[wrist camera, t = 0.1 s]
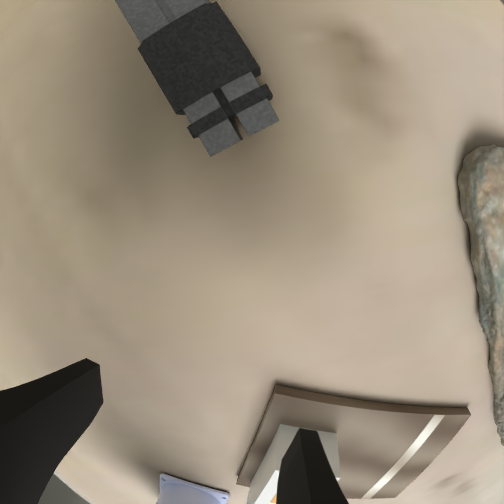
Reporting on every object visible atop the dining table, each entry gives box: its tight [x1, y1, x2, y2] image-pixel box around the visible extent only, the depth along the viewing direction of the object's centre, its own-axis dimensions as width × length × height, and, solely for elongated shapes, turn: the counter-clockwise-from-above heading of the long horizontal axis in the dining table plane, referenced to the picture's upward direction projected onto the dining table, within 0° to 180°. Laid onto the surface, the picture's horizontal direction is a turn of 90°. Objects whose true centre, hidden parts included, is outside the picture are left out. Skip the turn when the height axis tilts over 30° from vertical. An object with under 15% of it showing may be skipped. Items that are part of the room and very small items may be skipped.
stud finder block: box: [247, 424, 340, 504], centre depth 18 cm, size 10×4×5 cm, turn 167°
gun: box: [115, 0, 279, 156], centre depth 13 cm, size 4×20×10 cm, turn 27°
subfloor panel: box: [236, 384, 471, 499], centre depth 20 cm, size 14×18×1 cm
